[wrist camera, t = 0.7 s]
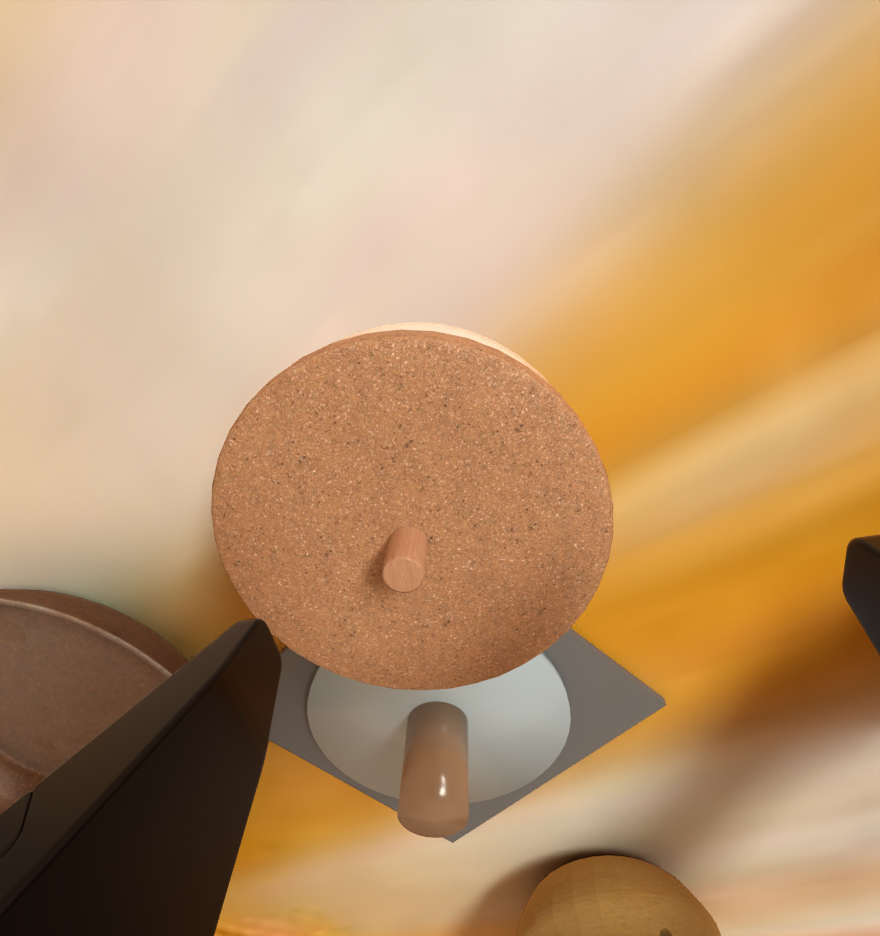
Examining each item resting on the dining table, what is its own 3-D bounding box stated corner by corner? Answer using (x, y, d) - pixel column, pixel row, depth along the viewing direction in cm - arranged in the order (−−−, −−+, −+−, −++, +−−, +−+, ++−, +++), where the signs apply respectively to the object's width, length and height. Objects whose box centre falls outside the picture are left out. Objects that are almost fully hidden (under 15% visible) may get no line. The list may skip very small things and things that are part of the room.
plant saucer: (124, 836, 35) (93, 891, 32) (-148, 665, 29) (-213, 714, 27) (322, 723, 29) (306, 778, 26) (29, 484, 23) (-30, 522, 21)
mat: (663, 698, 28) (666, 704, 27) (452, 835, 34) (452, 842, 33) (418, 514, 24) (418, 519, 23) (225, 707, 29) (222, 713, 29)
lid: (622, 705, 28) (656, 814, 23) (450, 820, 32) (448, 930, 27) (422, 561, 24) (411, 653, 19) (262, 712, 29) (221, 817, 24)
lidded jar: (334, 572, 24) (262, 758, 16) (255, 329, 20) (102, 401, 12) (579, 536, 23) (646, 716, 15) (548, 269, 19) (614, 301, 11)
